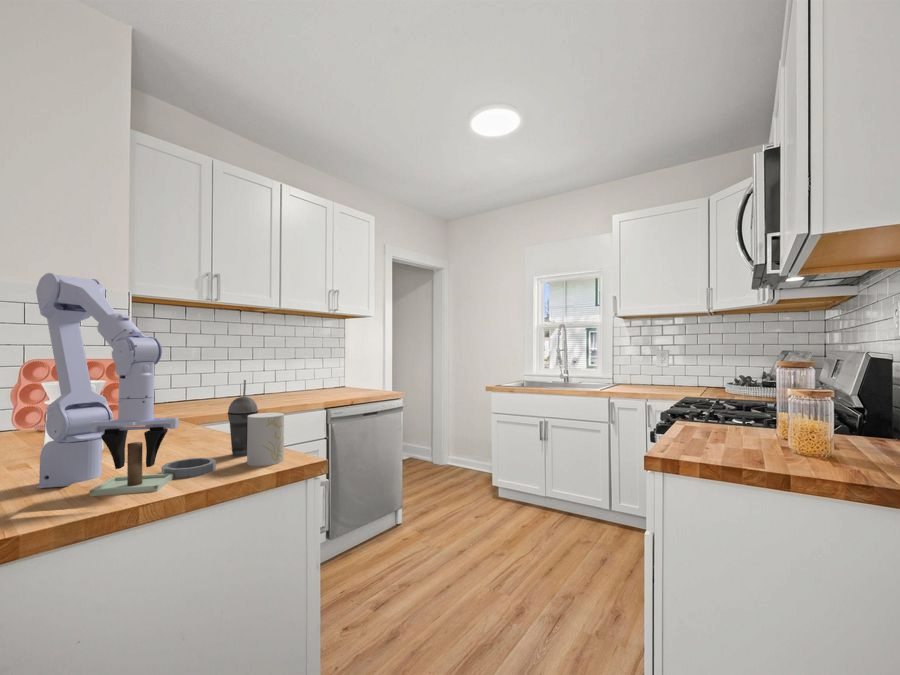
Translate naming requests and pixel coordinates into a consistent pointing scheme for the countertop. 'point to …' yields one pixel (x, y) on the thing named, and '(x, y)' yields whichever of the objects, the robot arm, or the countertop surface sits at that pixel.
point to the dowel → (134, 464)
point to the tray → (120, 486)
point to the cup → (265, 439)
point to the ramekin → (189, 467)
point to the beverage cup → (240, 422)
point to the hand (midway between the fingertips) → (135, 466)
